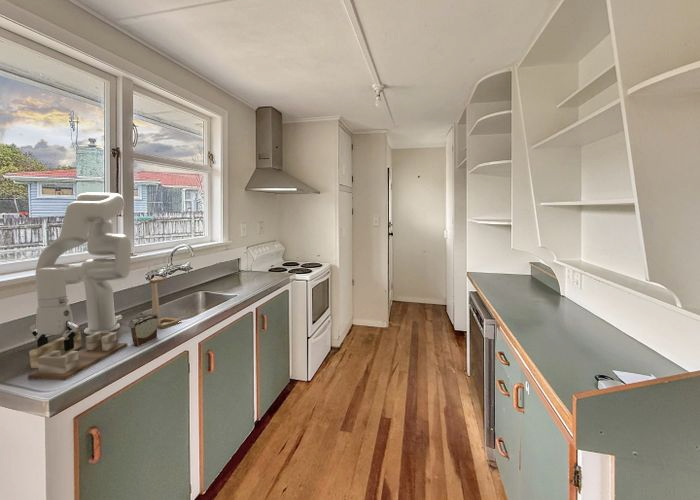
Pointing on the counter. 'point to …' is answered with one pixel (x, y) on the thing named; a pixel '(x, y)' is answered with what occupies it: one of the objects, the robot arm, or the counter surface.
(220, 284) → the counter surface
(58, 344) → the slat
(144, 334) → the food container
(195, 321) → the counter surface
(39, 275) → the robot arm
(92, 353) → the board
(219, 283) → the counter surface
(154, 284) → the headphone stand
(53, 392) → the counter surface
